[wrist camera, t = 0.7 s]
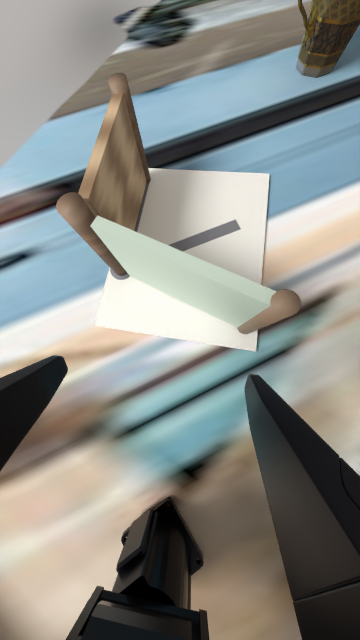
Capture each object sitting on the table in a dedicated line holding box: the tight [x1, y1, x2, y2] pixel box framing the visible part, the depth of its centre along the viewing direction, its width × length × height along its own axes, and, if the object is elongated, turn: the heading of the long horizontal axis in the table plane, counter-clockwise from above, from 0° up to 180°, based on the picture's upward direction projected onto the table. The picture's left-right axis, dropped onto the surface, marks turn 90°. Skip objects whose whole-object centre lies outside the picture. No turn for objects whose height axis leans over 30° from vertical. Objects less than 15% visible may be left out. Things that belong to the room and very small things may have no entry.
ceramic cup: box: [296, 0, 360, 77], centre depth 27 cm, size 13×10×10 cm
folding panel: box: [90, 215, 301, 334], centre depth 18 cm, size 18×2×10 cm, turn 62°
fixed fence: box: [56, 73, 151, 276], centre depth 21 cm, size 19×2×11 cm, turn 171°
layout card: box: [94, 168, 270, 351], centre depth 25 cm, size 28×22×1 cm
